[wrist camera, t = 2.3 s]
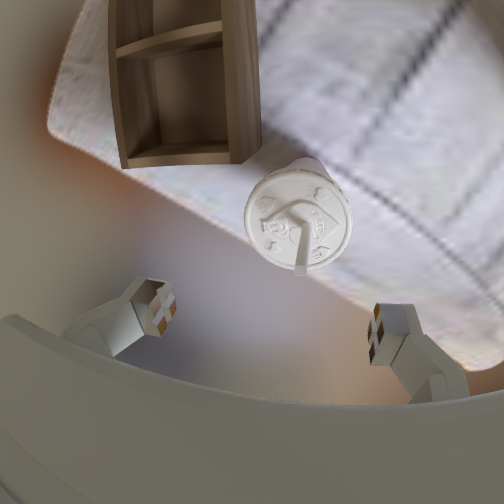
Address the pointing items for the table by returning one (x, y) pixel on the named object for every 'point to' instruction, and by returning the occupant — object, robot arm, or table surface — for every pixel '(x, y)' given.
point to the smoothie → (298, 217)
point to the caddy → (184, 81)
